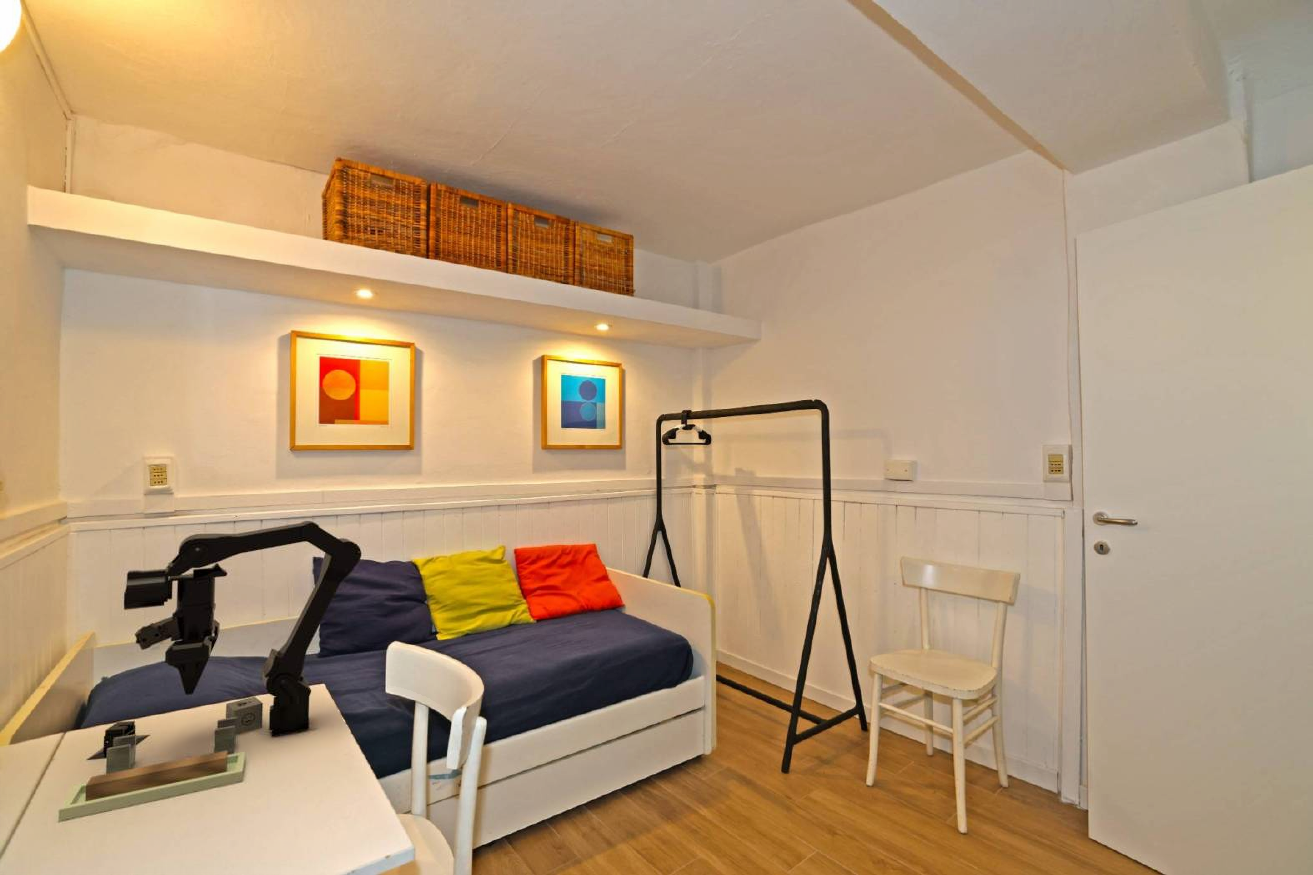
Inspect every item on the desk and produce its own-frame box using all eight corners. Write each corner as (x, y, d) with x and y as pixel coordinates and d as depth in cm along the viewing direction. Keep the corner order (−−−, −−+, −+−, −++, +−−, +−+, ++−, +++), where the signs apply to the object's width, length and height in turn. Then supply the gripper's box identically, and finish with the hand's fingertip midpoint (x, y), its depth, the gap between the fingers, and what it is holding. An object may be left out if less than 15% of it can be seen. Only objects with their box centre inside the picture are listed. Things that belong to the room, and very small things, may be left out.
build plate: (119, 764, 110) (121, 738, 111) (72, 768, 109) (73, 742, 109) (159, 733, 123) (160, 710, 123) (117, 736, 121) (118, 713, 121)
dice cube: (225, 728, 124) (226, 703, 124) (253, 720, 128) (254, 696, 128) (233, 736, 121) (234, 710, 121) (262, 727, 125) (262, 702, 125)
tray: (245, 760, 111) (245, 751, 111) (242, 781, 104) (242, 771, 104) (74, 795, 99) (75, 784, 99) (58, 821, 92) (58, 809, 92)
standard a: (236, 742, 118) (236, 716, 118) (233, 754, 113) (234, 726, 113) (217, 746, 116) (217, 719, 116) (213, 758, 112) (214, 730, 112)
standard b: (135, 762, 110) (136, 733, 110) (128, 775, 106) (129, 745, 106) (113, 766, 108) (114, 737, 109) (105, 779, 104) (106, 749, 104)
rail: (227, 767, 107) (227, 750, 108) (225, 775, 105) (225, 757, 105) (90, 795, 98) (91, 776, 98) (85, 804, 96) (85, 785, 96)
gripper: (151, 596, 119) (148, 677, 119) (128, 619, 103) (125, 712, 103) (221, 590, 125) (218, 668, 124) (210, 611, 109) (207, 700, 108)
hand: (193, 685), depth 115 cm, fingers open, 9 cm apart
